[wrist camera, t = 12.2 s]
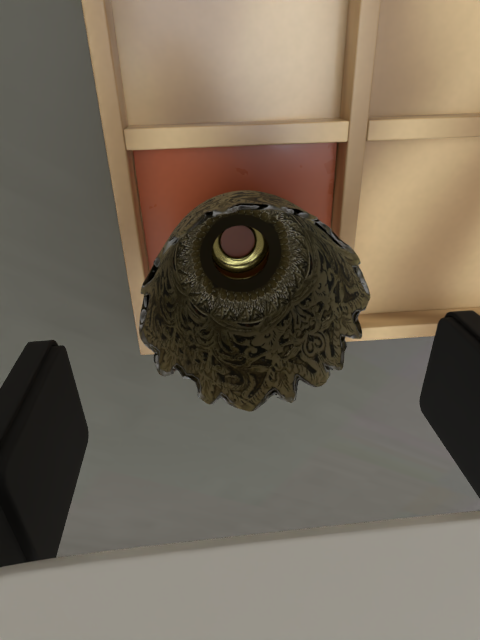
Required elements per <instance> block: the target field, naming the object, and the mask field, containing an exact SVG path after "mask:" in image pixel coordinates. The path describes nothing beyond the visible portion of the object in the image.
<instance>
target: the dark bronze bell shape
mask: <svg viewBox="0 0 480 640" xmlns="http://www.w3.org/2000/svg"><path fill="white" fill-rule="evenodd" d="M234 226H245V227H247V228H249V229H250V230H251V231H252V233H253V235H254V239H255V243H254V247H253V249H252V250H251V252H250V253H249V254H247V255H246V256H244V257H239V258H235V257H231V256H229V255H227V254H226V253H225V252H224V251H223V249H222V246H221V237H222V234H223V233H224V231H225V230H226V229H228V228H231V227H234ZM153 263H154V264H153V266H152V268H151V270H150V272H149V274H148V276H147V277H146V279H145V280H144V282H143V284H142V287H141V292H140V293H141V294H144V298H143V304H142V308H141V313H140V321H139V336H140V338H141V340H142V342H143V343H144V345H145V346H147V347H148V348H149V349H150V350H152V351H153V352H154V362H155V365H156V368H157V371H158V372H159V374H160V375H162V376H168V375H171V374H173V373H174V372H173V371H176V370H178V371H179V372H180V374H181V375H182V377H183V378H184V379H191V380H193V381H194V382H195V383H196V385H197V388H198V397H199V398H200V399H202V400H203V401H204V402H206V403H207V404H213V403H215V402H216V401H217V400H218V399H219V398H220V397H221V398H222V399H224V400H225V401H226V402H227V403H228V404H229V405H231V406H233V407H236V408H239V409H242V410H246V411H254V410H256V409H257V408H259V407H260V406H261V405H262V404H264V403H265V402H266V401H267V399H268V398H269V397H271V396H272V395H274V394H275V393H277V394H278V395H279V396H280V399H282V400H284V401H286V402H290V403H292V402H294V401H295V400H296V394H297V390H298V389H297V386H298V381H299V380H302V381H303V382H304V383H306V384H308V385H310V386H312V387H319V386H322V385H323V384H324V383H326V381H327V379H328V378H329V376H330V369H332V370H333V369H336V370H342V368H343V363H344V351H345V349H346V348H347V345H346V341H345V337H349V338H353V339H360V338H362V329H361V326H360V323H359V320H358V316H359V314H360V312H361V311H364V310H366V307H367V305H368V302H369V300H370V292H369V288H368V286H367V283H366V281H365V279H364V276H363V273H362V271H361V269H360V267H359V264H361V262H360V259H359V257H358V256H357V254H356V253H355V251H354V250H353V249H352V248H351V247H350V246H349V245H347V244H346V243H344V242H343V241H342V240H341V239H339V238H338V236H337V235H336V234H335V233H334V232H333V231H332V230H331V228H330V227H329V226H327V225H326V224H324V223H322V222H321V221H320V220H318V218H317V217H316V216H314V215H312V214H310V213H308V212H307V211H305V210H303V209H302V208H300V207H298V206H297V205H295V204H293V203H291V202H289V201H288V200H286V199H283V198H281V197H278V196H276V195H273V194H269V193H265V192H260V191H251V190H241V191H232V192H227V193H223V194H220V195H217V196H215V197H212V198H210V199H208V200H206V201H204V202H203V203H201V204H199V205H198V206H197V207H195V208H194V209H193V210H192V211H190V212H189V213H188V214H187V215H186V216H185V217H184V218H183V219H182V220H181V222H180V223H179V224H178V225H177V226H176V228H175V229H174V230H173V232H172V233H171V235H170V237H169V238H168V240H167V241H166V243H165V245H164V246H163V248H162V249H161V251H160V253H159V254H158V256H157V257H156V259H155V261H154V262H153ZM173 367H174V368H175V369H173ZM298 378H300V379H298ZM297 379H298V381H297ZM277 394H275V395H277ZM277 398H279V397H277Z"/></svg>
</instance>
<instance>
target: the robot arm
mask: <svg viewBox="0 0 480 640" xmlns="http://www.w3.org/2000/svg"><path fill="white" fill-rule="evenodd" d="M420 408H421V411H422V413H423V414H424V416H425V417H426V419H427V420H428V422H429V423H430V425H431V426H432V428H433V429H434V431H435V432H436V434H437V435H438V437H439V438H440V440H441V441H442V443H443V444H444V446H445V447H446V449H447V450H448V452H449V453H450V455H451V456H452V458H453V459H454V461H455V462H456V464H457V465H458V467H459V468H460V470H461V471H462V473H463V474H464V476H465V477H466V479H467V480H468V482H469V483H470V484H471V486H472V487H473V489H474V490H475V492H476V493H477V495H478V496H479V498H480V315H478V314H477V313H476V312H474V311H473V310H467V311H453V312H448V313H447V314H446V315H445V317H444V318H441V319H440V320H439V322H438V325H437V329H436V333H435V338H434V342H433V346H432V350H431V354H430V358H429V362H428V367H427V371H426V375H425V379H424V383H423V387H422V391H421V396H420ZM87 443H88V427H87V423H86V419H85V416H84V412H83V409H82V405H81V401H80V398H79V394H78V390H77V387H76V383H75V380H74V376H73V372H72V369H71V365H70V361H69V358H68V354H67V351H66V348H65V347H64V346H58V344H57V343H56V341H54V340H49V341H35V342H28V344H27V345H26V346H25V348H24V350H23V351H22V353H21V355H20V356H19V358H18V360H17V361H16V363H15V365H14V366H13V368H12V370H11V371H10V373H9V375H8V377H7V378H6V380H5V382H4V383H3V385H2V387H1V388H0V640H480V511H471V512H461V513H451V514H441V515H432V516H422V517H412V518H402V519H392V520H383V521H373V522H364V523H354V524H345V525H335V526H326V527H317V528H307V529H298V530H289V531H280V532H270V533H261V534H252V535H243V536H234V537H225V538H216V539H207V540H198V541H189V542H180V543H172V544H163V545H154V546H145V547H136V548H128V549H120V550H112V551H104V552H97V553H89V554H81V555H73V556H65V557H58V558H56V555H57V552H58V548H59V544H60V541H61V537H62V533H63V530H64V526H65V523H66V519H67V515H68V512H69V508H70V505H71V501H72V497H73V494H74V490H75V487H76V483H77V479H78V476H79V472H80V468H81V465H82V461H83V458H84V454H85V450H86V447H87Z"/></svg>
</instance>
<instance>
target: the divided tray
mask: <svg viewBox="0 0 480 640" xmlns="http://www.w3.org/2000/svg"><path fill="white" fill-rule="evenodd" d="M81 2H82V8H83V14H84V20H85V26H86V32H87V38H88V44H89V50H90V56H91V62H92V68H93V74H94V80H95V86H96V92H97V98H98V104H99V110H100V116H101V122H102V128H103V134H104V140H105V145H106V151H107V157H108V163H109V169H110V175H111V181H112V187H113V193H114V199H115V205H116V211H117V217H118V223H119V229H120V235H121V241H122V247H123V253H124V259H125V265H126V271H127V277H128V283H129V289H130V295H131V301H132V307H133V313H134V319H135V324H136V330H137V336H138V342H139V348H140V354H141V355H148V354H154V352H153V351H152V350H150V349H149V348H148V347H147V346H145V345H144V343H143V342H142V340H141V338H140V336H139V321H140V313H141V308H142V304H143V298H144V294H141V293H140V292H141V287H142V284H143V282H144V280H145V279H146V277H147V276H148V274H149V272H150V270H151V268H152V266H153V264H154V263H153V262H154V261H155V259H156V257H157V256H158V254H159V253H160V251H161V249H162V248H163V246H164V245H165V243H166V241H167V240H168V238H169V237H170V235H171V233H172V232H173V230H174V229H175V228H176V226H177V225H178V224H179V223H180V222H181V220H182V219H183V218H184V217H185V216H186V215H187V214H188V213H189V212H190V211H192V210H193V209H194V208H195V207H197V206H198V205H199V204H201V203H203V202H204V201H206V200H208V199H210V198H212V197H215V196H217V195H220V194H223V193H227V192H232V191H241V190H251V191H260V192H265V193H269V194H273V195H276V196H278V197H281V198H283V199H286V200H288V201H289V202H291V203H293V204H295V205H297V206H298V207H300V208H302V209H303V210H305V211H307V212H308V213H310V214H312V215H314V216H316V217H317V218H318V220H320V221H321V222H322V223H324V224H326V225H327V226H329V227H330V228H331V230H332V231H333V232H334V233H335V234H336V235H337V236H338V238H339V239H341V240H342V241H343V242H344V243H346V244H347V245H349V246H350V247H351V248H352V249H353V250H354V251H355V253H356V254H357V256H358V257H359V259H360V262H361V264H359V267H360V269H361V271H362V273H363V276H364V279H365V281H366V283H367V286H368V288H369V292H370V300H369V302H368V305H367V307H366V310H364V311H361V312H360V314H359V316H358V320H359V323H360V326H361V329H362V338H360V339H353V338H349V337H345V341H346V342H350V341H365V340H381V339H396V338H411V337H426V336H435V333H436V329H437V325H438V322H439V320H440V319H441V318H444V317H445V315H446V314H447V313H448V312H453V311H467V310H473V311H474V312H476V313H477V314H478V315H480V0H81ZM254 243H255V239H254V235H253V233H252V231H251V230H250V229H249V228H247V227H245V226H234V227H231V228H228V229H226V230H225V231H224V233H223V234H222V237H221V246H222V249H223V251H224V252H225V253H226V254H227V255H229V256H231V257H235V258H239V257H244V256H246V255H247V254H249V253H250V252H251V250H252V249H253V247H254Z"/></svg>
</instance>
